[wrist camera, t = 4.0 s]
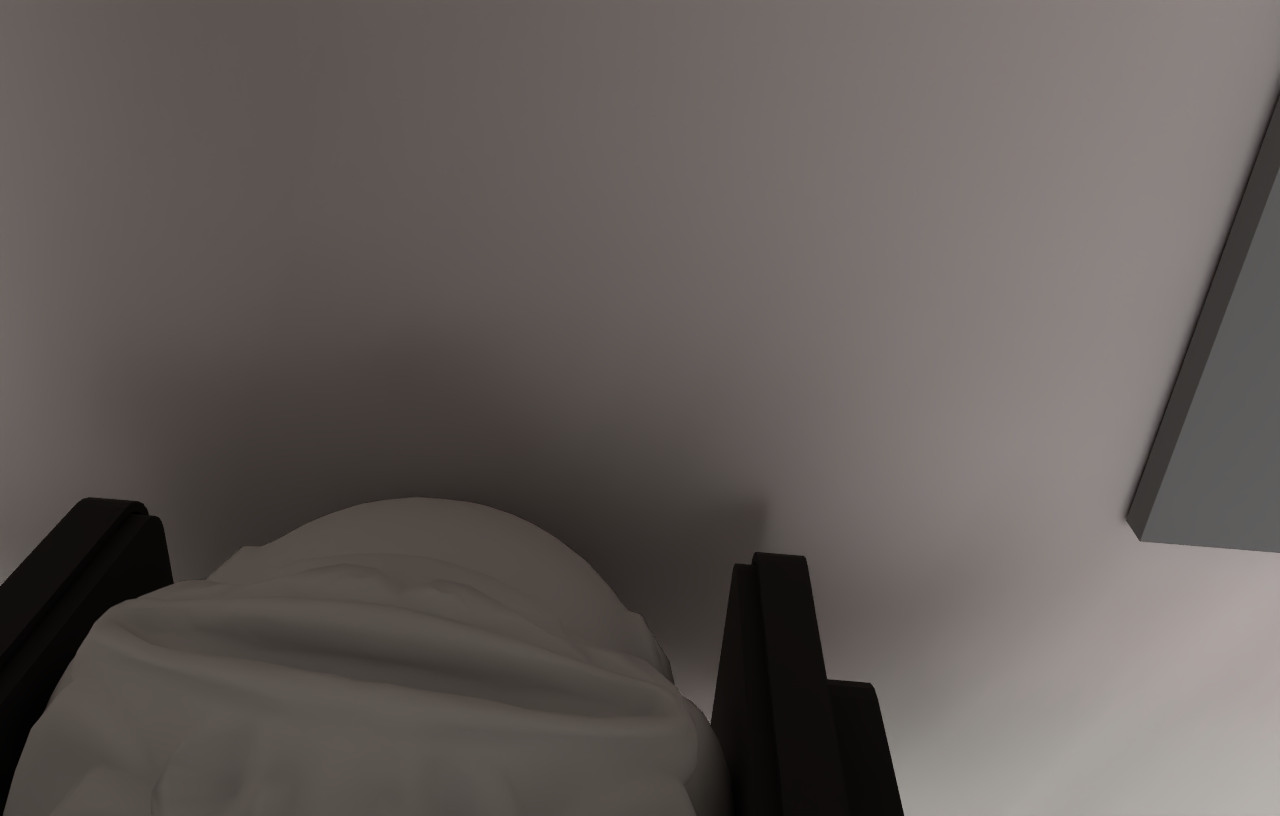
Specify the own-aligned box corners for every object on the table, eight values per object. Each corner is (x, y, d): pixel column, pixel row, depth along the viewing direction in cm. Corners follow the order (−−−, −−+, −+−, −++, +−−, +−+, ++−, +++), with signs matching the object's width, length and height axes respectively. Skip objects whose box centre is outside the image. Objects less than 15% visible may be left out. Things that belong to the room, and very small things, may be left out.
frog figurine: (785, 362, 11) (914, 1015, 5) (656, 808, 14) (637, 1529, 8) (208, 253, 11) (-438, 808, 4) (214, 736, 14) (-153, 1434, 8)
